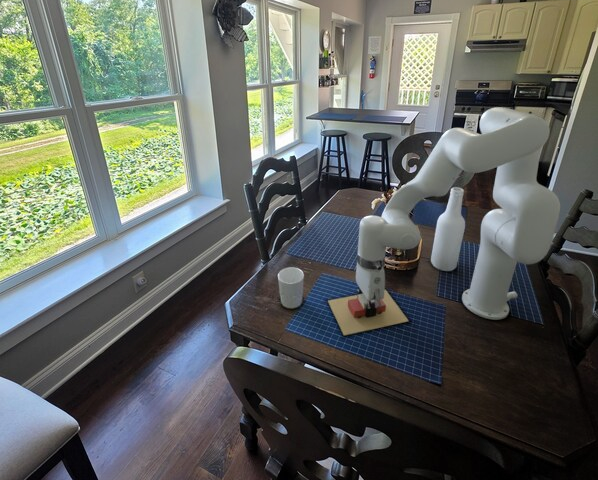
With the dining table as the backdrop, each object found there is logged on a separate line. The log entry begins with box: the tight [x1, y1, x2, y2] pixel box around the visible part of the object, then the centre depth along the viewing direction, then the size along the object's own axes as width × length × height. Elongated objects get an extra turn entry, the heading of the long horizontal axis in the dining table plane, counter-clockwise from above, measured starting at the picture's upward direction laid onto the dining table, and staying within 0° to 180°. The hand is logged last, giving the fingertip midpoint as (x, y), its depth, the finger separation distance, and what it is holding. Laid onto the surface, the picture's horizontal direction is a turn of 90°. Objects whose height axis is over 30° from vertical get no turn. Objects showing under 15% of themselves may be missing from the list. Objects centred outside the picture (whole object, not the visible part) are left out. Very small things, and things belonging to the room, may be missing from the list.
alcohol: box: [430, 186, 466, 272], centre depth 112 cm, size 9×9×30 cm
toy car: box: [348, 293, 386, 318], centre depth 96 cm, size 10×5×5 cm, turn 104°
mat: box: [327, 289, 409, 336], centre depth 97 cm, size 20×14×1 cm
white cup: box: [277, 266, 305, 309], centre depth 99 cm, size 8×8×10 cm
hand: (366, 308), depth 97 cm, fingers closed on toy car, 5 cm apart
